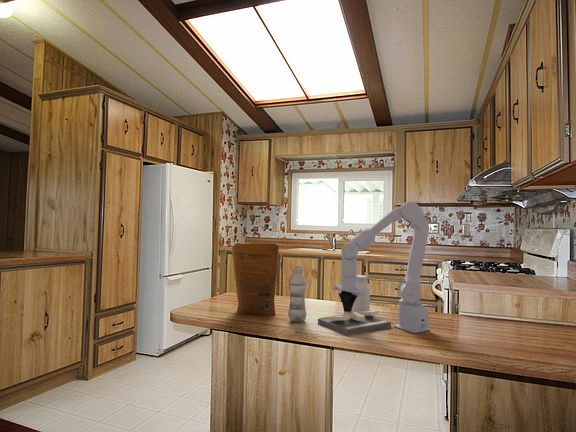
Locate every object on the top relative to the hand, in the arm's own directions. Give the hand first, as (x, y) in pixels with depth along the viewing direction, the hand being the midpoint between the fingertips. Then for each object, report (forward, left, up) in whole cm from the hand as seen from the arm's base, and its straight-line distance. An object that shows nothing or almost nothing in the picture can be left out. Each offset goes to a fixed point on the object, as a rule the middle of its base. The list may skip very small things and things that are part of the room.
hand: (347, 312), depth 135 cm
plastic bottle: (+11, +15, -4) cm, 19 cm away
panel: (-3, 0, -4) cm, 5 cm away
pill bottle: (+10, -15, -4) cm, 18 cm away
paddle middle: (-3, 0, 0) cm, 3 cm away
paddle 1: (-3, +7, 0) cm, 8 cm away
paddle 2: (-3, -7, 0) cm, 8 cm away
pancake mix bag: (+29, +23, -4) cm, 37 cm away
